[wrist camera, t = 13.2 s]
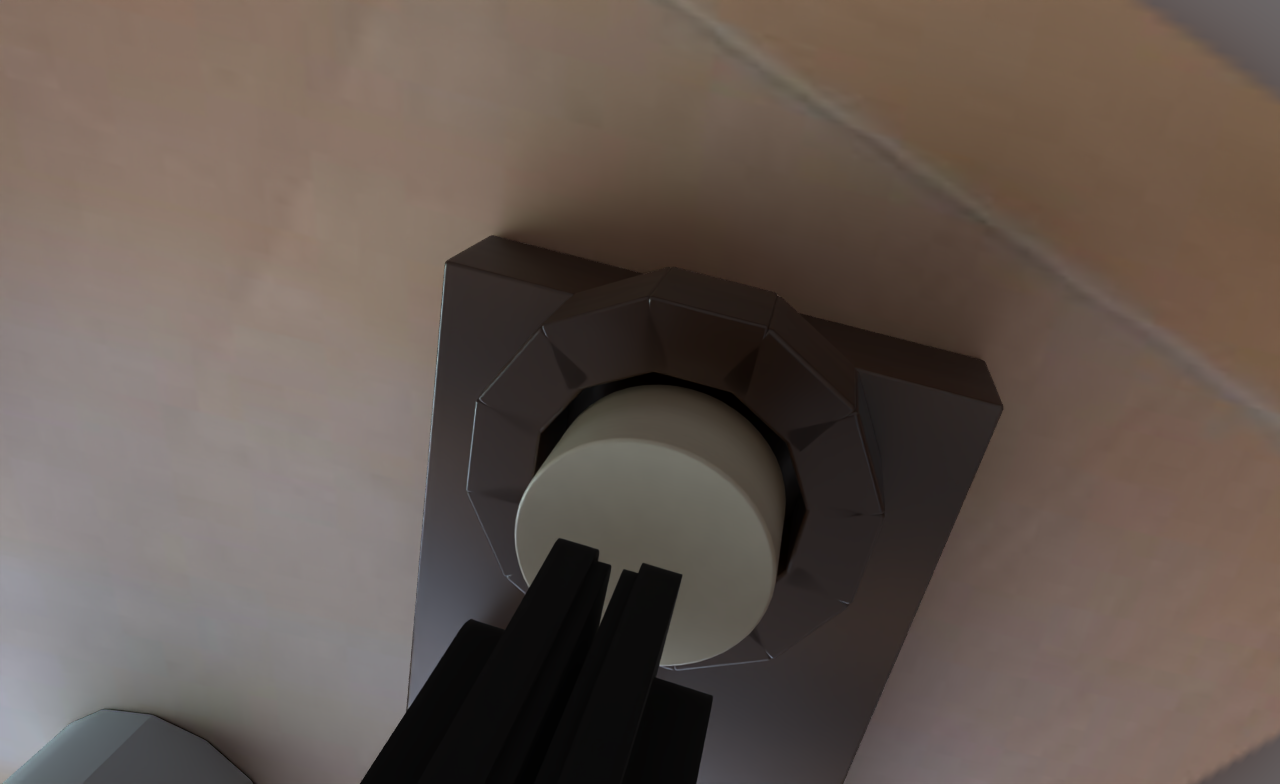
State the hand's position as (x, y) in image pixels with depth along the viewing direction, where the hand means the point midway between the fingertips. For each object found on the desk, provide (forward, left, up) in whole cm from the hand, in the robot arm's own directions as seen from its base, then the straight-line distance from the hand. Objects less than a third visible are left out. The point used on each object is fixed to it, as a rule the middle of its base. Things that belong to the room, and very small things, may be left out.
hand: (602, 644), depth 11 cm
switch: (0, 0, -4) cm, 4 cm away
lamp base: (+4, 0, -7) cm, 9 cm away
